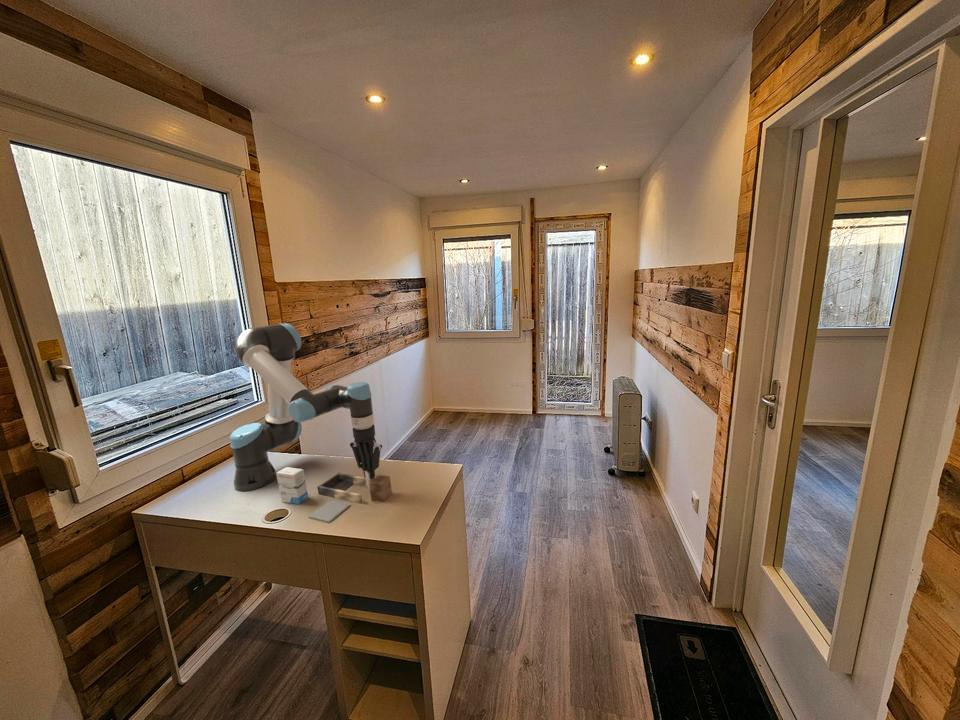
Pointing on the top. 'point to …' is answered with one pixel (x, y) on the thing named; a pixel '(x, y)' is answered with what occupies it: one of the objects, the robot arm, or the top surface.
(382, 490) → the walnut block
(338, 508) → the slate pad
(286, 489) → the ink box
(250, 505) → the top surface
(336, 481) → the channel
